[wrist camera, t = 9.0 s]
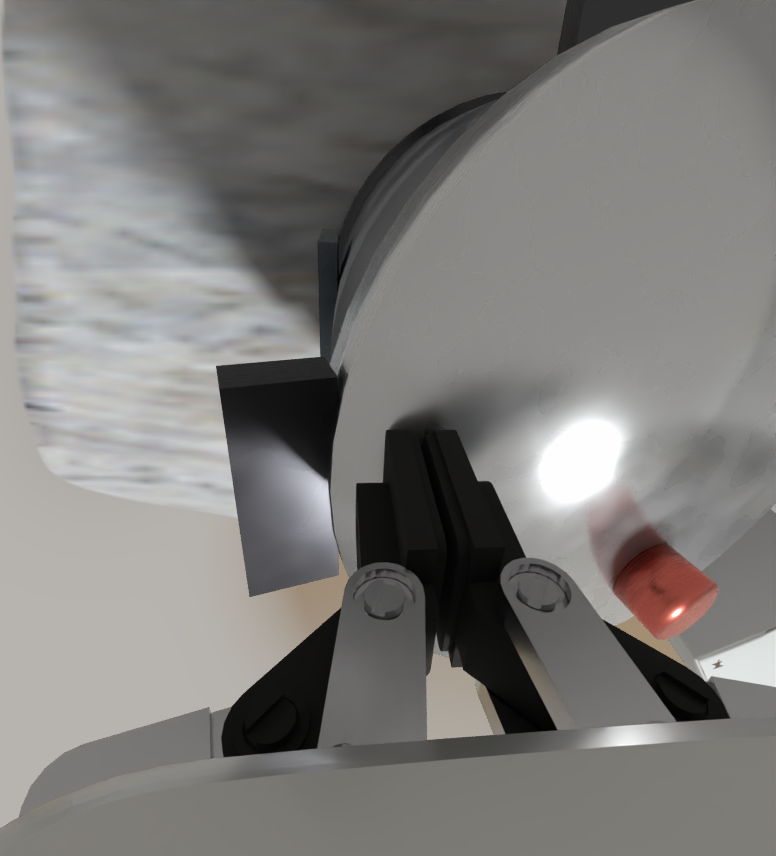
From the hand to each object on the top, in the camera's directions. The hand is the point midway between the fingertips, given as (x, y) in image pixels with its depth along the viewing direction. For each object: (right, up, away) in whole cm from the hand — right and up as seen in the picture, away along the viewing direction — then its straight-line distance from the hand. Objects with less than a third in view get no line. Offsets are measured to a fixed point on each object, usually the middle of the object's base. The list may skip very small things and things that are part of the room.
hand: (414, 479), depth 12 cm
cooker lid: (+6, +2, +4) cm, 8 cm away
